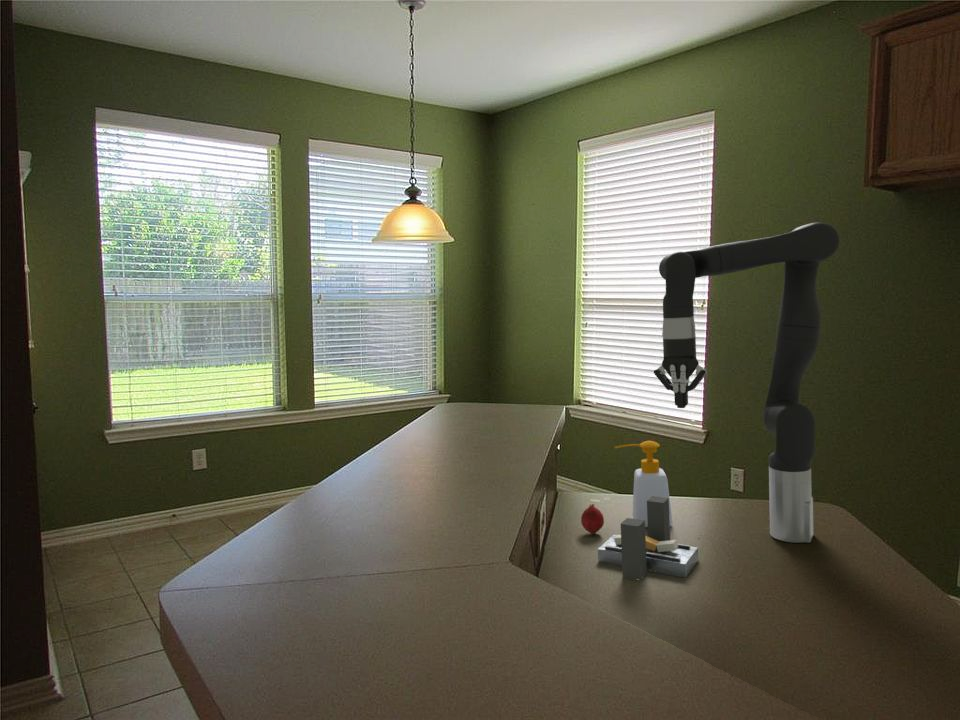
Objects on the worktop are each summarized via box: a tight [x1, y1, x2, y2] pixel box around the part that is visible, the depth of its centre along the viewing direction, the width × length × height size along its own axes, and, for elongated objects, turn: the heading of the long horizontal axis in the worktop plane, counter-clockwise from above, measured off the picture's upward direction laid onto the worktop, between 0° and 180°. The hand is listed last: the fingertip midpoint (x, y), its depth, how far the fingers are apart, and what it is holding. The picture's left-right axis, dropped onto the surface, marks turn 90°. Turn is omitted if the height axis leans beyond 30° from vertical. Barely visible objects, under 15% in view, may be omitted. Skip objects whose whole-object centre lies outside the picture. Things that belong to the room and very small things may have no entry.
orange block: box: [645, 535, 659, 551], centre depth 146 cm, size 4×2×2 cm, turn 57°
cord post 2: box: [647, 496, 671, 541], centre depth 153 cm, size 4×4×12 cm
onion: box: [580, 503, 605, 535], centre depth 165 cm, size 6×6×8 cm
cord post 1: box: [620, 517, 648, 581], centre depth 139 cm, size 4×4×12 cm
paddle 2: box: [656, 539, 679, 552], centre depth 144 cm, size 4×2×2 cm, turn 56°
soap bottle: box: [614, 440, 673, 528], centre depth 170 cm, size 10×14×22 cm
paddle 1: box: [614, 534, 621, 545], centre depth 150 cm, size 4×2×2 cm, turn 56°
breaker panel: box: [597, 533, 699, 578], centre depth 147 cm, size 20×10×4 cm, turn 57°
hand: (681, 407), depth 155 cm, fingers closed
